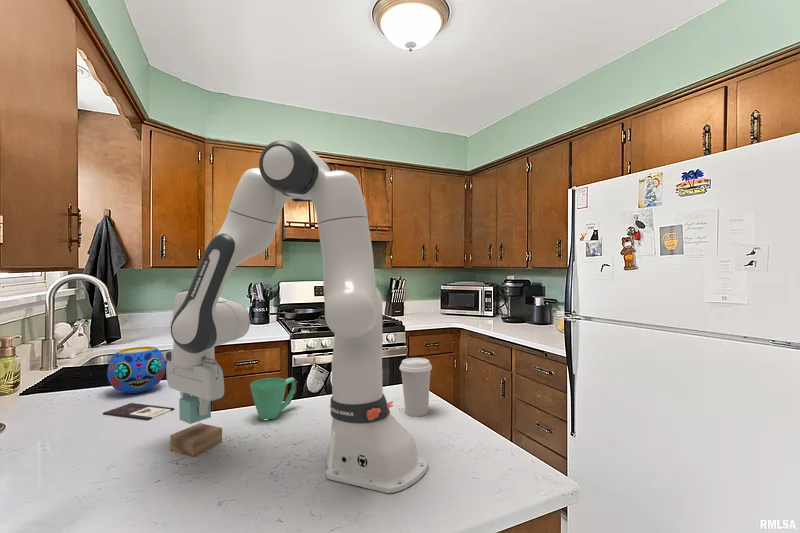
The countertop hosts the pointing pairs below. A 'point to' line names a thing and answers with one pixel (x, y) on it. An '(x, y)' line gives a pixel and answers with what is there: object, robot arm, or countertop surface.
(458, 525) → the countertop surface
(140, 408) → the chocolate bar
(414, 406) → the coffee cup
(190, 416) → the teal cube
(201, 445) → the walnut slab
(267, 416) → the mug
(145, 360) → the ceramic pot
